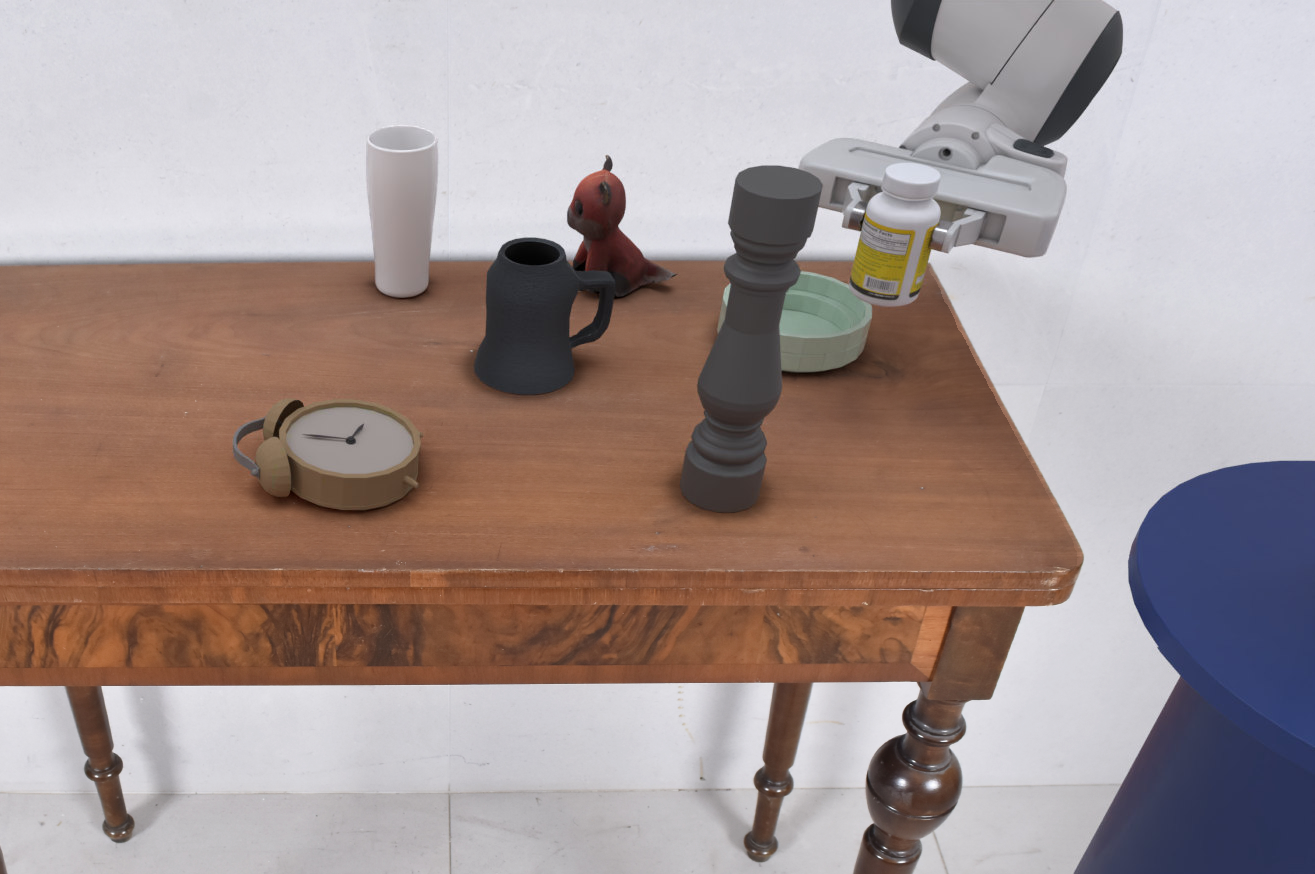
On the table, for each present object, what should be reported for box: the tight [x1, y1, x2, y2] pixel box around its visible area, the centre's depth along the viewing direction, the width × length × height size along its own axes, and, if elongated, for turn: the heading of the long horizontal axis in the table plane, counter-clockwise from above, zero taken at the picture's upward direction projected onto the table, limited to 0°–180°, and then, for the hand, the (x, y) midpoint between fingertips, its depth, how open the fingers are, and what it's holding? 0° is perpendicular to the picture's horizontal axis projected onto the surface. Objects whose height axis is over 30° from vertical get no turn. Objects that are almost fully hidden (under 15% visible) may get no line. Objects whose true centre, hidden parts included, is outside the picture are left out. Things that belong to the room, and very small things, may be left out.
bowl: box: [716, 270, 873, 373], centre depth 119 cm, size 13×13×4 cm
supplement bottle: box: [848, 163, 941, 308], centre depth 99 cm, size 5×5×10 cm
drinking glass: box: [365, 124, 439, 299], centre depth 123 cm, size 7×7×15 cm
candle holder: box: [679, 164, 823, 513], centre depth 94 cm, size 6×6×25 cm
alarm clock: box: [232, 398, 424, 511], centre depth 103 cm, size 11×5×15 cm
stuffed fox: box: [566, 154, 679, 297], centre depth 124 cm, size 8×11×12 cm
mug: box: [473, 236, 615, 395], centre depth 113 cm, size 12×9×11 cm
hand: (896, 231), depth 98 cm, fingers closed on supplement bottle, 5 cm apart
